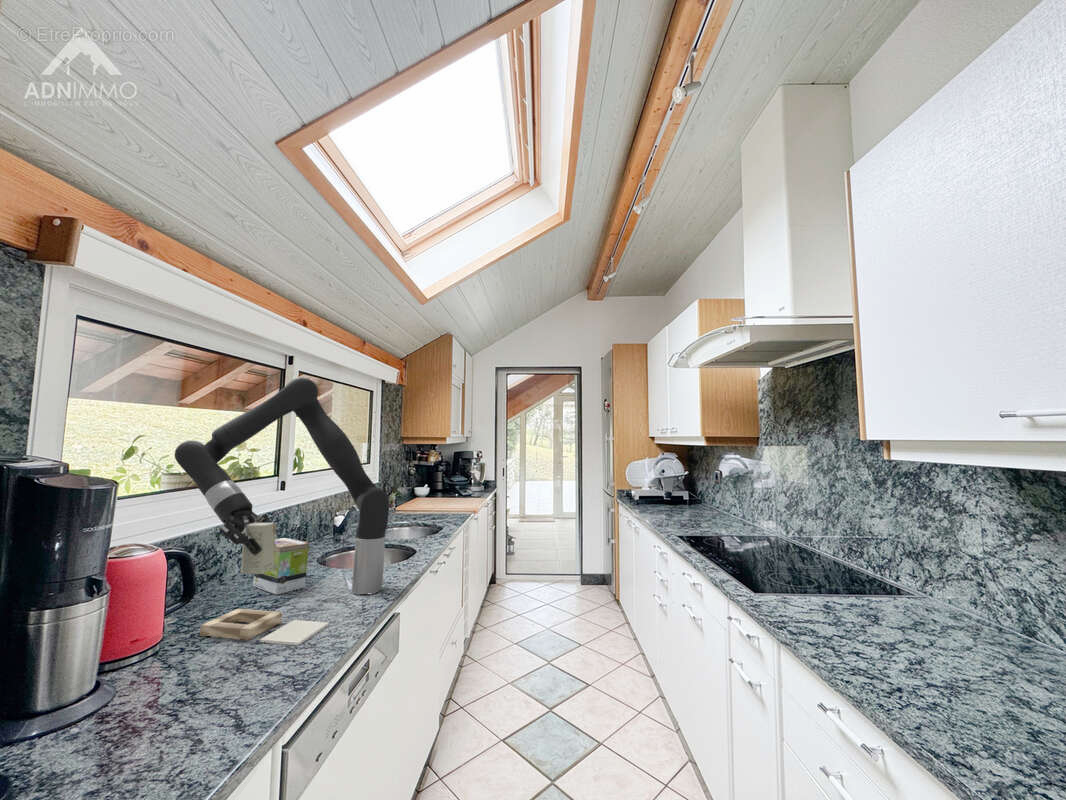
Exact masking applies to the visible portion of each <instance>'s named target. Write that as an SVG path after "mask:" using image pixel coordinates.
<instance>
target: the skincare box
mask: <svg viewBox="0 0 1066 800" xmlns="http://www.w3.org/2000/svg"><path fill="white" fill-rule="evenodd" d="M247 526H248V528H249V529H250V531H249V532H250V533H251V535H252V539H255V541H256V542H257V543H258V545H259V546H260V547H261V551H260V552H259V553H258V554H257V555H253V554H252V553H251V552H250V551H249V550H248V548H247V547H246V546H245V545H243V544H242V551H241V564H240V566H241V567H240V574H253V575H254V574H263V573H265V572H268V571H270V570H273V569H274V552H275V539H276V531H277V522H270V523H251V524H249V525H247ZM244 529H245V528H244ZM245 536H246V535H245Z"/></svg>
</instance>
